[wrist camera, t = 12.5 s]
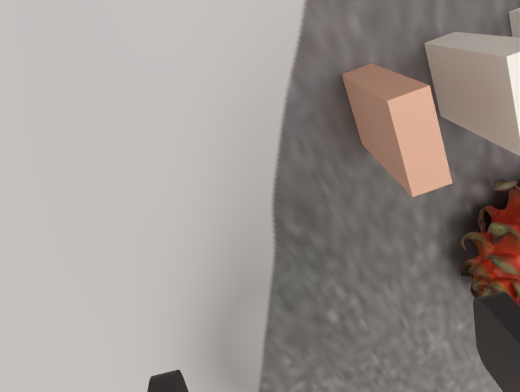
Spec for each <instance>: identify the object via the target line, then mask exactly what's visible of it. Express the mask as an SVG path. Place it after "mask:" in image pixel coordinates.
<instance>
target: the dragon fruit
mask: <svg viewBox="0 0 520 392" xmlns="http://www.w3.org/2000/svg"><path fill="white" fill-rule="evenodd" d="M517 183H518V181H516V180H513V181H508V182H505V180H504V181H503V180H499V181H498V182H497V184H496V185H495V186H494V188H493V191H499V190H501V191H504V190H508V189H509V200H508V205H507V207H506V209H504V210H500V209H496V208H494V207H493V206H486V207H485V208H483V209H481V210H480V212H479V215H480V216H479V218H478V226H479V227H480V230H481V233H479V232H470V233H467V234H466V235H464V236H463V237H462V239H461V240H460V245H461V247H462V248H463V249H464V250H466V251H467V249H466V246H465V245H464V243H463V242H464V240H466V239H469V240H471V241H472V242H473V243H474V244H475V245H476V246H477V247H478V250H479V256H477V257H475V258H471V259H468V260H467V261H466V262H465V263H464V264H463V265H462V266H461V268H460V269H461V276H463V275H465V276H471V277H472V278H474V279H473V280H472V283H471V289H470V291H471V293H472V294H473V296H474V297H475V298H477V297H481V296H485V295H489V294H494V293H498V292H502V291H504V292H506V293H507V294H508V295H509V296H510V297H511V298H512V299H513V300H514V301H515V302H516V303H517V304H518V305H519V306H520V186H519V185H517ZM488 213H489V215H490V217H491V219H492V221H491V224H490V226H489V228H488V231H487V223H486V217H487V215H488Z"/></svg>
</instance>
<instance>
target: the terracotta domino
mask: <svg viewBox="0 0 520 392" xmlns="http://www.w3.org/2000/svg"><path fill="white" fill-rule="evenodd" d="M342 78H343V81H344V85H345V88H346V91H347V95H348V98H349V102H350V105H351V108H352V112H353V115H354V119H355V122H356V125H357V129H358V132H359V135H360V139H361V142H362V145H363V146H364V147H365V148H366V149H367V150H368V151H369V152H370V153H371V154H372V155H373V156H374V157H375V159H376V160H377V161H378V162H379V163H380V164H381V165H382V166H383V167H384V168H385V169H386V170H387V171H388V172H389V173H390V174H391V175H392V176H393V177H394V178H395V179H396V180H397V181H398V182H399V183H400V184H401V186H402V187H403V188H404V189H405V190H406V191H407V192H408V193H409V194H410V195H411V196H412V197H415V196H418V195H421V194H423V193H426V192H429V191H432V190H435V189H438V188H441V187H443V186H446V185H449V184H452V179H451V175H450V171H449V166H448V162H447V158H446V153H445V149H444V145H443V140H442V136H441V132H440V127H439V123H438V119H437V114H436V110H435V106H434V101H433V97H432V93H431V88H430V85H427V84H425V83H422V82H420V81H417V80H414V79H412V78H409V77H406V76H404V75H401V74H398V73H396V72H393V71H391V70H388V69H385V68H383V67H380V66H377V65H375V64H372V63H370V64H367V65H365V66H362V67H359V68H357V69H354V70H351V71H349V72H346V73H343V74H342Z"/></svg>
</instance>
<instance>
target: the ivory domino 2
mask: <svg viewBox="0 0 520 392" xmlns="http://www.w3.org/2000/svg"><path fill="white" fill-rule="evenodd" d="M509 18H510V24H511V30H512V37H517V38H520V8H517V9H514V10H512V11H509Z"/></svg>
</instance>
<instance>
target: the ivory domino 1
mask: <svg viewBox="0 0 520 392" xmlns="http://www.w3.org/2000/svg"><path fill="white" fill-rule="evenodd" d="M424 45H425V50H426V54H427V59H428V63H429V67H430V72H431V76H432V81H433V85H434V90H435V94H436V99H437V103H438V107H439V112H440V116H441V117H443V118H445V119H447V120H449V121H451V122H453V123H455V124H457V125H459V126H461V127H463V128H465V129H467V130H469V131H471V132H473V133H475V134H477V135H479V136H481V137H483V138H485V139H487V140H489V141H491V142H493V143H495V144H497V145H499V146H500V147H502V148H504V149H506V150H508V151H510V152H512V153H514V154H516V155H518V156H520V38H517V37H506V36H495V35H485V34H474V33H463V32H452V33H450V34H447V35H444V36H442V37H439V38H436V39H434V40H431V41H428V42H425V43H424Z"/></svg>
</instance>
